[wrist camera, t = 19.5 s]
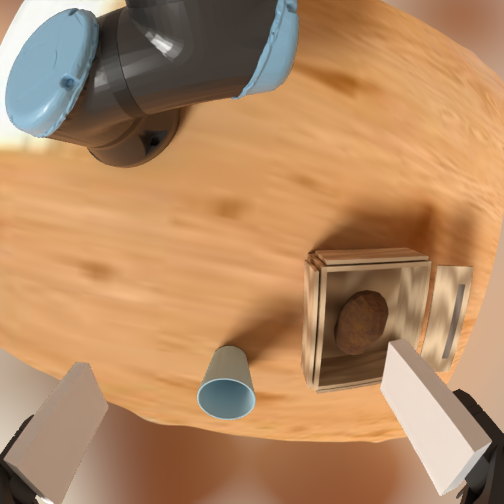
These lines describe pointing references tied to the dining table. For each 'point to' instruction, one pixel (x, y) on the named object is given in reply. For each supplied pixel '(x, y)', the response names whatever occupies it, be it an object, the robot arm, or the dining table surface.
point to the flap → (446, 315)
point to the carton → (339, 291)
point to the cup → (227, 385)
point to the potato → (361, 322)
